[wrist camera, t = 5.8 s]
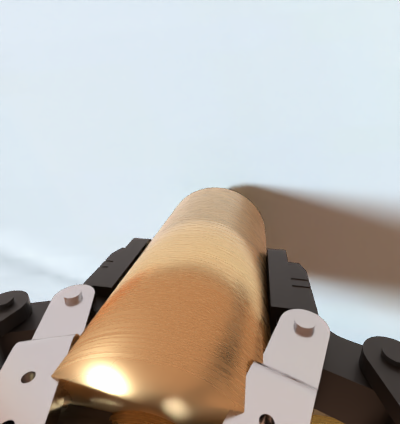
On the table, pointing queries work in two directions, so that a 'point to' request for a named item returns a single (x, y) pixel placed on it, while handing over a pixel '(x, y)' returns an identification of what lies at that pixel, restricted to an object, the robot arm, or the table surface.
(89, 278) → the robot arm
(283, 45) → the table surface
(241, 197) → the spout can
